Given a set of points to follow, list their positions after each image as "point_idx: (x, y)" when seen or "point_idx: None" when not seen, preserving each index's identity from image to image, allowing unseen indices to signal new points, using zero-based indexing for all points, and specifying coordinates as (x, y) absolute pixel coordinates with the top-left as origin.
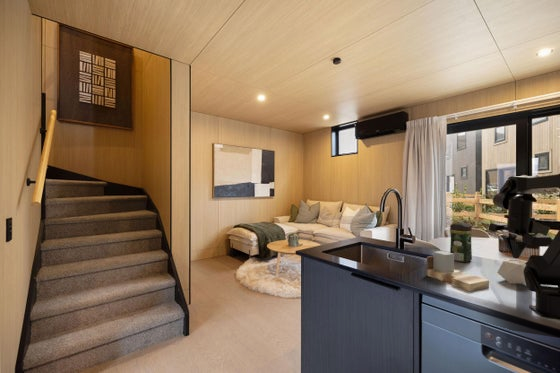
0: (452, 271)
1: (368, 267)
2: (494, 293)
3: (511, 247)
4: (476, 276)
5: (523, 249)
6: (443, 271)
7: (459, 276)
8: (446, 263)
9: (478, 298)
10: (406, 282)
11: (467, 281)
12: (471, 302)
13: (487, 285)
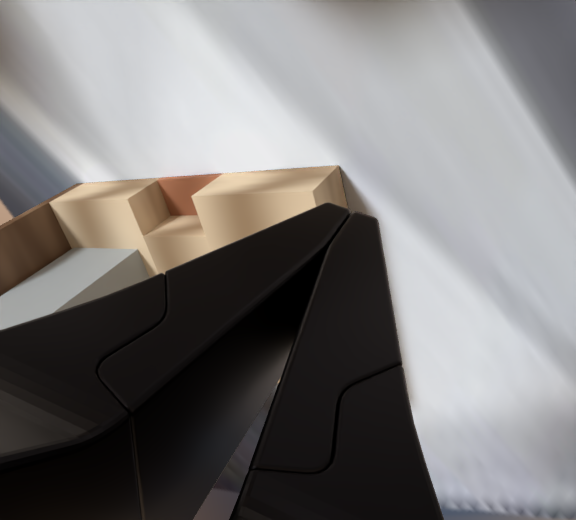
0: (142, 264)
1: None
2: (450, 256)
3: (220, 456)
4: (229, 200)
5: (403, 394)
6: None
7: None
8: None
9: (485, 425)
10: (242, 484)
11: None
12: (516, 502)
13: (336, 192)
